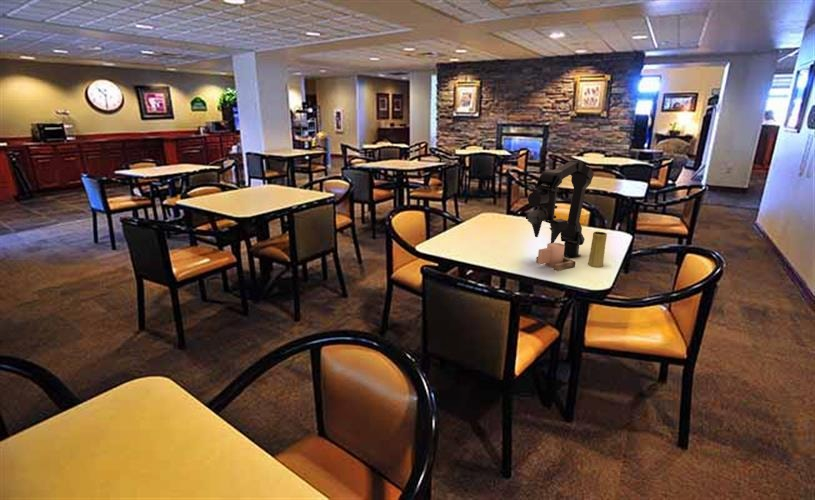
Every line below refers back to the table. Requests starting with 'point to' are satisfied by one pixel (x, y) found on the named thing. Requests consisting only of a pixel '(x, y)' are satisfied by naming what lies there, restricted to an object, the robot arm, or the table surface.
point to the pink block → (551, 254)
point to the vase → (597, 249)
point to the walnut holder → (563, 264)
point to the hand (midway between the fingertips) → (544, 239)
